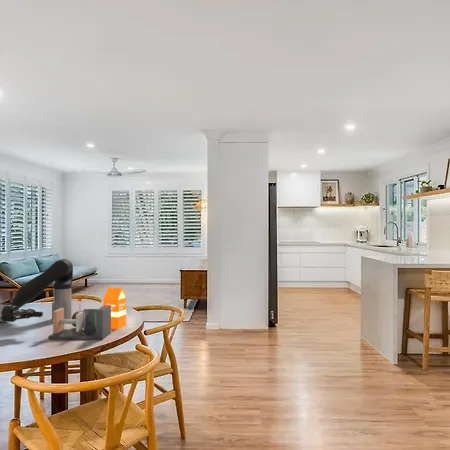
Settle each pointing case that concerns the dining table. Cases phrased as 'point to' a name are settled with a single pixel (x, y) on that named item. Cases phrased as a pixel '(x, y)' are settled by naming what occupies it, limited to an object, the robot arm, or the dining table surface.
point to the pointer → (79, 319)
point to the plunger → (60, 320)
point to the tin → (75, 317)
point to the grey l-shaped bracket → (89, 326)
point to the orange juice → (116, 306)
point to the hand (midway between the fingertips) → (42, 314)
